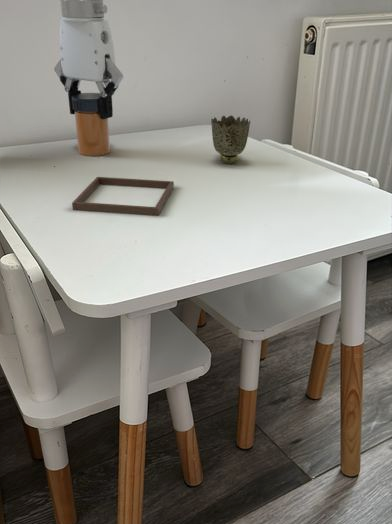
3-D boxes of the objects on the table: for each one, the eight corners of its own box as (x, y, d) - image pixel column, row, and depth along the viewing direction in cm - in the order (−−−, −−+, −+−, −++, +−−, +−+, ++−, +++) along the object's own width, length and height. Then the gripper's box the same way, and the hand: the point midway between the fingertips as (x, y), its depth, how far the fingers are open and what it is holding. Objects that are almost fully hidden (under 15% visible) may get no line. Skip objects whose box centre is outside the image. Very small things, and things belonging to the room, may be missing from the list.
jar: (74, 155, 112) (68, 101, 107) (84, 147, 118) (79, 95, 112) (105, 156, 112) (101, 103, 106) (113, 148, 117) (110, 97, 111)
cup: (225, 169, 106) (227, 125, 101) (202, 160, 111) (203, 117, 106) (255, 163, 109) (258, 120, 105) (231, 155, 114) (233, 113, 110)
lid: (114, 110, 109) (113, 97, 108) (79, 113, 106) (78, 100, 105) (101, 103, 114) (100, 91, 113) (67, 106, 111) (66, 94, 110)
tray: (73, 215, 85) (71, 202, 84) (98, 188, 96) (97, 176, 94) (158, 221, 83) (158, 208, 82) (173, 193, 94) (173, 181, 93)
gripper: (133, 12, 100) (137, 117, 110) (60, 8, 107) (71, 107, 117) (107, 14, 94) (114, 124, 104) (32, 9, 102) (45, 113, 112)
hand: (91, 114), depth 111 cm, fingers closed on lid, 7 cm apart
